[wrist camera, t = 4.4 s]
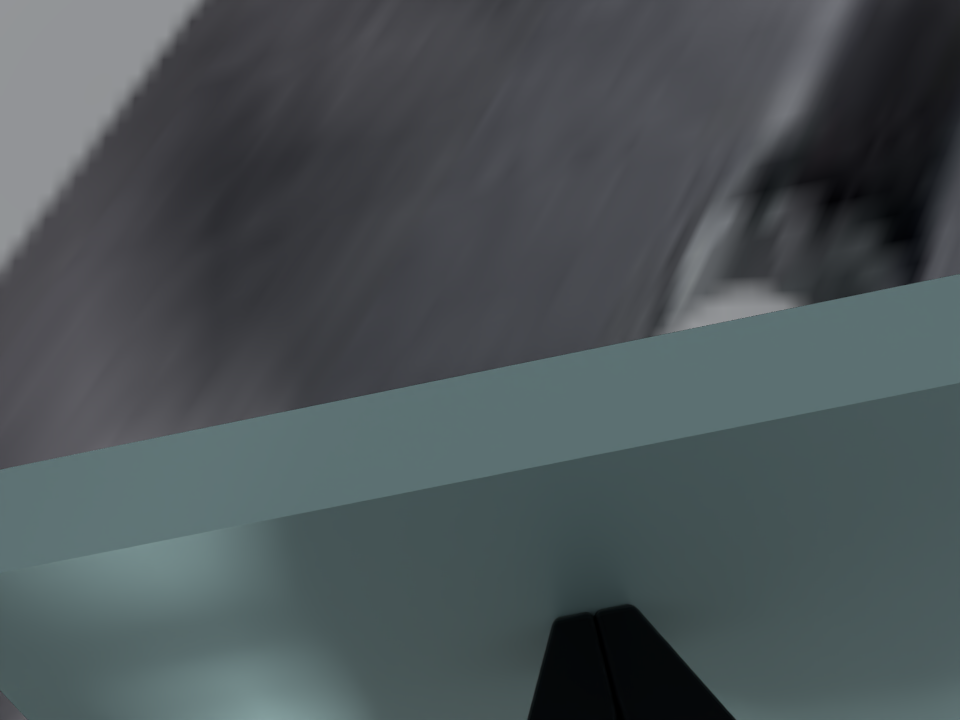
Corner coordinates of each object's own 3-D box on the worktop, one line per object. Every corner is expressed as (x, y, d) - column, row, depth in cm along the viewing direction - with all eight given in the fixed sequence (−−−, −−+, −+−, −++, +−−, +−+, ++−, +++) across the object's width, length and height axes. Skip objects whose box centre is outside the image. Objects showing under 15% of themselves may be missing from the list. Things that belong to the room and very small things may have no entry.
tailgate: (1042, 856, 13) (1295, 316, 7) (279, 988, 13) (-93, 590, 7) (955, 710, 15) (1093, 195, 9) (294, 831, 15) (11, 418, 9)
